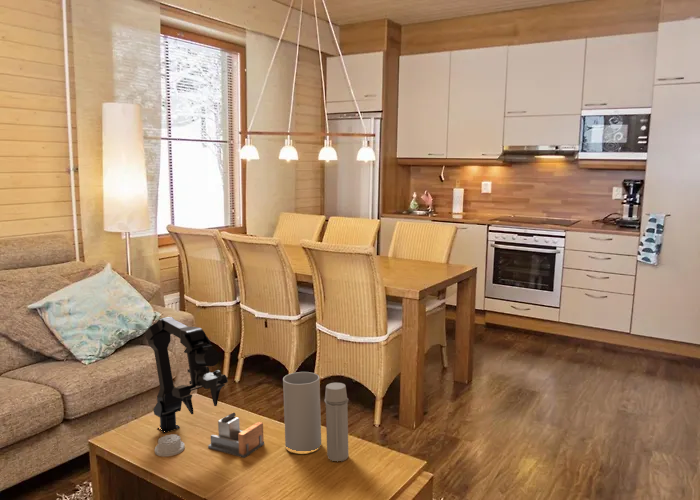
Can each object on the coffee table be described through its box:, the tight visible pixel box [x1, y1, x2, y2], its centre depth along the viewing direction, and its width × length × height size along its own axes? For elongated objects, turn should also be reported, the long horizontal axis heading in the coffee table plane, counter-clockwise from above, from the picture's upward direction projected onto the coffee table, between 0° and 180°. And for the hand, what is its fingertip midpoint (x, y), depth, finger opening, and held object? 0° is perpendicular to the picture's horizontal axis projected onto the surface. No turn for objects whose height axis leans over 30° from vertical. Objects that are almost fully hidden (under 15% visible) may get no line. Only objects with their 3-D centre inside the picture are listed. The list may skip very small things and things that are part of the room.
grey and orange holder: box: [207, 421, 265, 459], centre depth 197 cm, size 16×11×8 cm
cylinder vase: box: [282, 371, 322, 451], centre depth 194 cm, size 12×12×25 cm
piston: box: [217, 412, 241, 441], centre depth 198 cm, size 5×6×9 cm
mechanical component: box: [154, 433, 185, 457], centre depth 196 cm, size 10×4×10 cm
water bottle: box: [324, 382, 349, 463], centre depth 185 cm, size 9×8×25 cm
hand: (204, 409), depth 194 cm, fingers open, 9 cm apart
